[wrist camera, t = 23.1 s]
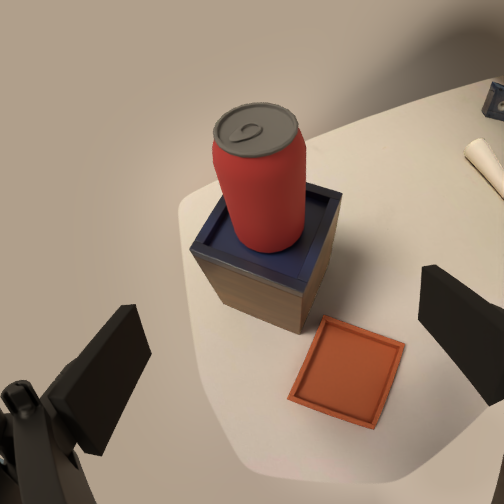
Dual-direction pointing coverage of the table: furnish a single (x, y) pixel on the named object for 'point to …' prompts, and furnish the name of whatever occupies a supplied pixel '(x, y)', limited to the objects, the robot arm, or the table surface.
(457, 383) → the table surface
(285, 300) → the navy stand
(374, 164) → the table surface
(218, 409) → the table surface
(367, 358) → the terracotta tray
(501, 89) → the vhs cassette tape
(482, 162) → the long cone
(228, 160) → the beer can
